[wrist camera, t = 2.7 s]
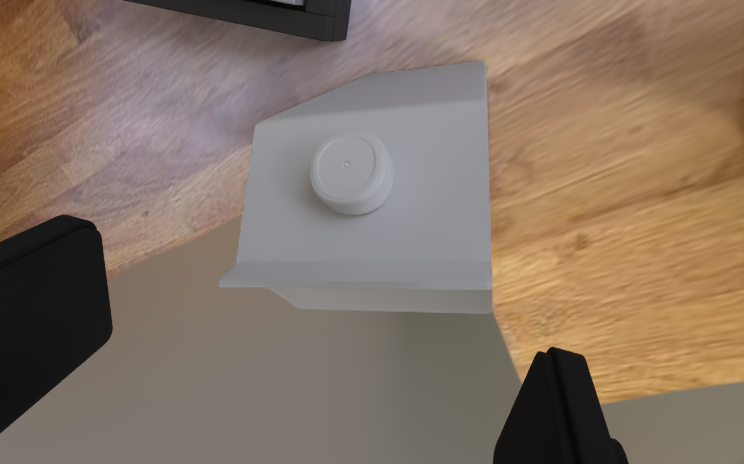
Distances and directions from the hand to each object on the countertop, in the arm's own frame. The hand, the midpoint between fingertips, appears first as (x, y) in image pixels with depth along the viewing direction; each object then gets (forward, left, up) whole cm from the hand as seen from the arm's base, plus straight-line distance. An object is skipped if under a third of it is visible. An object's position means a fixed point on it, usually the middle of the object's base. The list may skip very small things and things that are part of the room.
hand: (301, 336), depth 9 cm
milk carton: (0, 0, -21) cm, 21 cm away
